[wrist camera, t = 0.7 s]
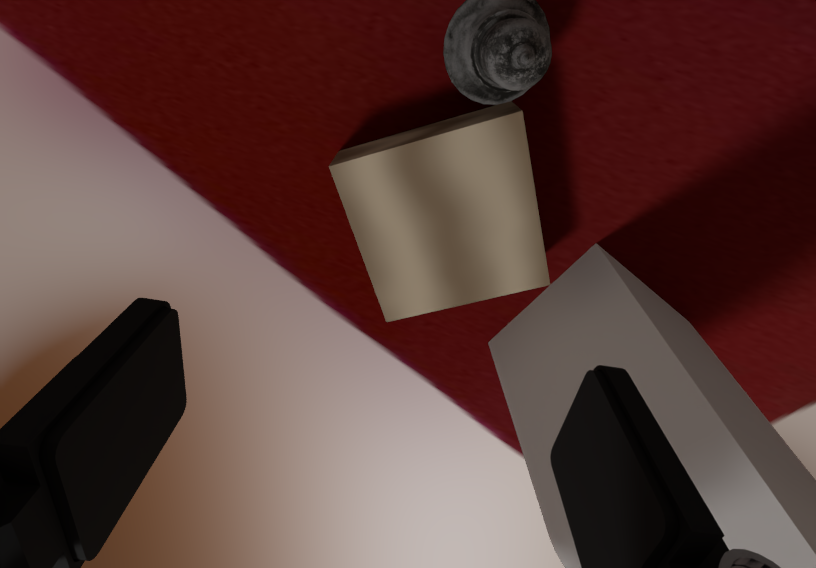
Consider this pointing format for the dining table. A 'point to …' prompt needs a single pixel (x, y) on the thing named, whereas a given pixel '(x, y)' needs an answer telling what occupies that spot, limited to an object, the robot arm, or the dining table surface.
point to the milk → (652, 407)
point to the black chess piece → (497, 49)
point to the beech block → (445, 212)
